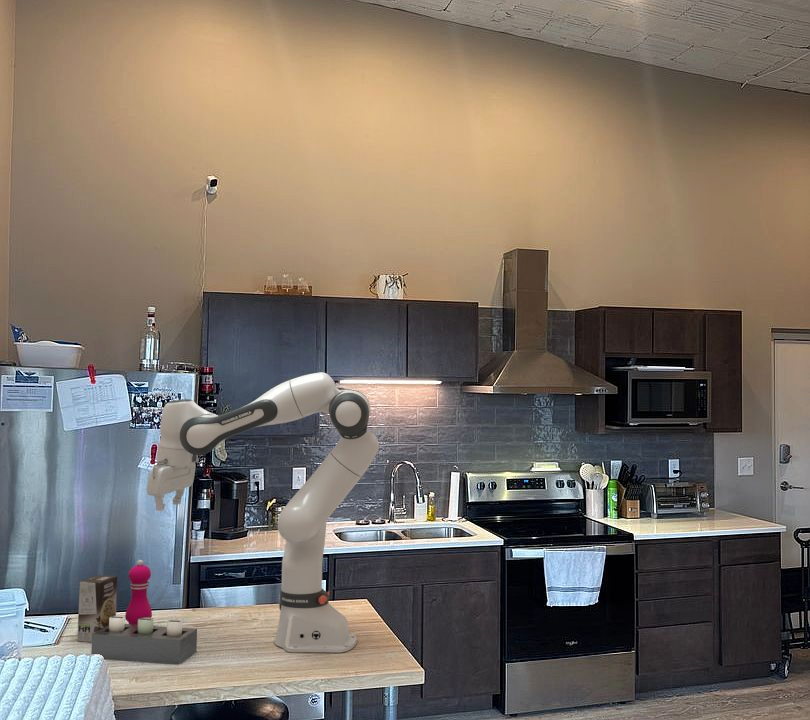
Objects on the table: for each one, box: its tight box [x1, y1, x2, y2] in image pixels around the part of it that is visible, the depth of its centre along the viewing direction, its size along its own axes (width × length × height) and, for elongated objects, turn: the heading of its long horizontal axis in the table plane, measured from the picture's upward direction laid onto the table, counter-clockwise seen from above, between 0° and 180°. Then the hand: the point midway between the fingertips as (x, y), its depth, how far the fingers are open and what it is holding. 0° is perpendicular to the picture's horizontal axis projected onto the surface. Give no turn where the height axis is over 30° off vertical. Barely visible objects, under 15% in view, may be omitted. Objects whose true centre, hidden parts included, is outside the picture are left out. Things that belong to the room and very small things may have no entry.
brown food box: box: [76, 574, 118, 643], centre depth 220 cm, size 9×6×16 cm
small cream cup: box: [109, 615, 126, 633], centre depth 207 cm, size 4×4×5 cm
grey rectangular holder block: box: [91, 623, 198, 665], centre depth 205 cm, size 24×10×6 cm, turn 80°
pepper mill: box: [124, 559, 153, 625], centre depth 226 cm, size 7×7×20 cm
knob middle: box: [138, 617, 154, 635], centre depth 206 cm, size 4×4×5 cm
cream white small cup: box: [166, 618, 183, 637], centre depth 204 cm, size 4×4×5 cm
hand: (168, 507), depth 219 cm, fingers open, 8 cm apart
